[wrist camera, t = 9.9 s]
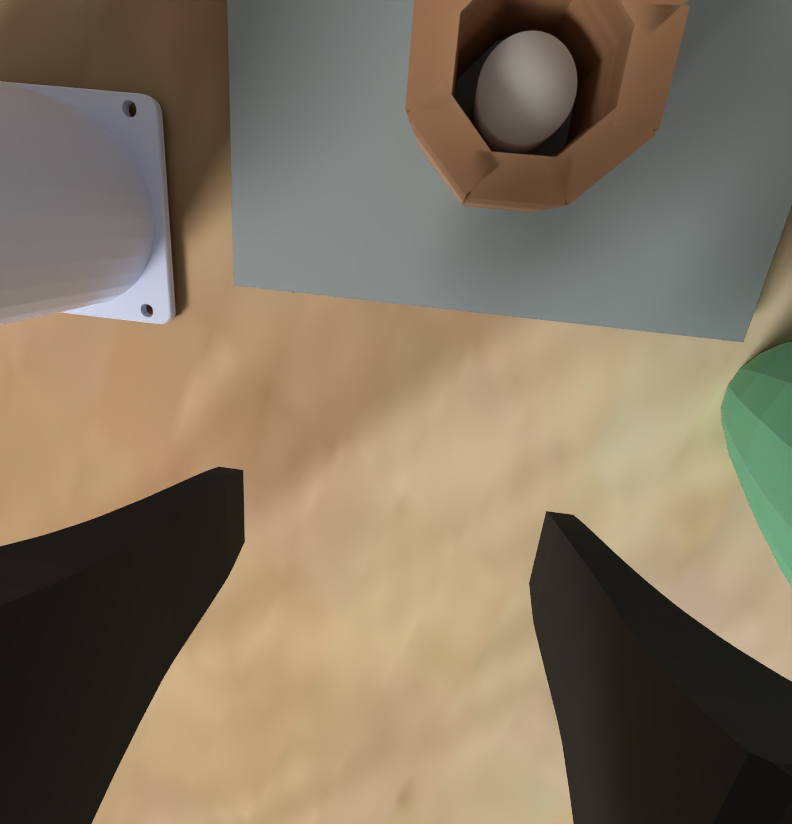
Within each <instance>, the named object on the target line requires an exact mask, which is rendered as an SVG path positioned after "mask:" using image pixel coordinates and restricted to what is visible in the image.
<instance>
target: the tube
mask: <svg viewBox="0 0 792 824" xmlns="http://www.w3.org/2000/svg"><path fill="white" fill-rule="evenodd" d="M687 1H688V0H414V7H413V19H412V31H411V44H410V56H409V68H408V80H407V92H406V105H405V110H406V113H407V117H408V120H409V122H410V125H411V127H412V130H413V132H414V135H415V137H416V140H417V143H418V145H419V148H420V149H421V151H422V152H423V153H424V155H425V156H426V157H427V159H428V160H429V161H430V163H431V164H432V165H433V167H434V168H435V170H436V171H437V172H438V174H439V175H440V176H441V178H442V179H443V180H444V182H445V183H446V184H447V186H448V187H449V188H450V190H451V191H452V193H453V194H454V195H455V197H456V198H457V199H458V201H459V202H460V203H461V205H462V204H463V203H464V202H465V205H464V206H466V207H477V208H488V209H499V210H510V211H521V212H536V211H542V210H547V209H552V208H557V207H563V206H565V205H569V204H570V203H572V202H573V201H574V200H575V199H577V198H578V197H579V196H580V195H582V194H583V193H584V192H585V191H587V190H588V189H589V188H590V187H591V186H593V185H594V184H595V183H596V182H598V181H599V180H600V179H601V178H603V177H604V176H605V175H606V174H608V173H609V172H610V171H611V170H613V169H614V168H615V167H616V166H618V165H619V164H620V163H621V162H623V161H624V160H625V159H626V158H627V157H629V156H630V155H631V154H632V153H634V152H635V151H636V150H637V149H639V148H640V147H641V146H642V145H644V144H645V143H646V142H647V141H649V140H650V139H651V138H652V137H654V136H655V135H656V133H655V131H657V130H659V129H660V125H661V121H662V117H663V113H664V109H665V104H666V100H667V96H668V92H669V88H670V84H671V80H672V76H673V72H674V68H675V64H676V60H677V56H678V52H679V48H680V44H681V39H682V35H683V31H684V27H685V23H686V19H687V15H688V11H689V7H690V6H683V5H684V4H685V3H686V2H687ZM524 31H542V32H545V33H548V34H550V35H552V36H554V37H556V38H557V39H559V40H560V41H561V42H562V43H563V44H564V45H565V46H566V48H567V49H568V50H569V52H570V54H571V56H572V57H573V60H574V63H575V67H576V71H577V91H576V97H575V101H574V106H573V111H572V116H571V122H570V127H569V132H568V137H567V143H566V144H565V145H564V146H563V147H562V148H561V149H559V150H558V151H557V152H556V153H555V154H554V155H552V156H539V155H527V154H515V153H503V152H491V150H490V149H489V147H488V146H487V144H486V143H485V142H484V140H483V139H482V137H481V136H480V134H479V133H478V132H477V130H476V129H475V127H474V126H473V124H472V123H471V122H470V120H469V119H468V117H467V116H466V115H465V113H464V112H463V110H462V109H461V107H460V106H459V105H458V103H457V102H456V100H455V96H456V87H457V79H458V78H459V77H460V76H461V75H462V74H463V73H464V72H465V71H466V70H467V69H468V68H469V67H470V66H471V65H472V64H473V63H474V62H476V61H477V60H478V59H479V58H480V57H481V56H482V55H483V54H484V53H485V52H486V51H487V50H488V49H489V48H490V47H491V46H492V45H493V44H494V43H495V42H496V41H497V40H503V41H504V40H505V39H507V38H508V37H510V36H512V35H514V34H517V33H520V32H524Z"/></svg>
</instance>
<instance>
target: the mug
mask: <svg viewBox="0 0 792 824" xmlns="http://www.w3.org/2000/svg"><path fill="white" fill-rule="evenodd" d="M721 408H722V425H723V429H724V434H725V438H726V443H727V448H728V452H729V456H730V458H731V461H732V463H733V466H734V468H735V471H736V473H737V476H738V478H739V481H740V483H741V486H742V488H743V491H744V493H745V495H746V498H747V500H748V502H749V505H750V507H751V509H752V512H753V514H754V516H755V519H756V521H757V523H758V525H759V527H760V529H761V531H762V533H763V535H764V537H765V539H766V541H767V543H768V545H769V547H770V549H771V551H772V553H773V555H774V557H775V559H776V561H777V563H778V565H779V567H780V569H781V570H782V572H783V574H784V575H785V577H786V578H787V580H788V582H789V583H790V585H791V586H792V342H788V343H783V344H779V345H777V346H775V347H773V348H771V349H768V350H766V351H764V352H762V353H760V354H758V355H757V356H755V357H754V358H753V359H752V360H751V361H749V362H748V363H747V364H746V365H744V366H743V367H742V368H741V369H740V370H739V371H738V373H737V374H736V376H735V377H734V378H733V380H732V381H731V382H730V384H729V385H728V387H727V391H726V394H725V397H724V400H723V404H722V407H721Z"/></svg>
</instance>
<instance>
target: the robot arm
mask: <svg viewBox="0 0 792 824" xmlns="http://www.w3.org/2000/svg"><path fill="white" fill-rule="evenodd" d="M132 103H134V104H135V106H136V109H137V111H136V115H135V116H134V117H131V115H130V113H129V106H130V105H131V104H132ZM147 304H148V305H150V306H151V307H152V309H153V315H150V314H149V313H148V312H147V309H146V307H147ZM58 312H61V313H70V314H78V315H87V316H95V317H104V318H112V319H121V320H129V321H138V322H146V323H155V324H166V323H169V322H171V321H172V320H173V319H174V317H175V313H176V310H175V295H174V280H173V265H172V251H171V236H170V221H169V206H168V191H167V176H166V161H165V146H164V131H163V116H162V110H161V106H160V105H159V103H158V101H156V100H155V99H154V98H153V97H150V96H148V95H145V94H141V93H129V92H117V91H106V90H94V89H83V88H71V87H60V86H48V85H37V84H25V83H14V82H3V81H0V325H3V324H7V323H12V322H16V321H21V320H26V319H30V318H35V317H40V316H44V315H49V314H54V313H58ZM244 542H245V538H244V488H243V470H239V469H231V468H224V467H217V468H214V469H211V470H208V471H205V472H203V473H201V474H198V475H196V476H194V477H191V478H189V479H187V480H185V481H183V482H180V483H178V484H176V485H174V486H171V487H169V488H167V489H165V490H162V491H160V492H158V493H156V494H153V495H151V496H149V497H147V498H144V499H142V500H140V501H137V502H135V503H132V504H130V505H127V506H125V507H122V508H120V509H117V510H115V511H112V512H110V513H107V514H105V515H102V516H100V517H97V518H94V519H92V520H89V521H86V522H83V523H80V524H77V525H74V526H71V527H68V528H65V529H62V530H59V531H56V532H52V533H49V534H46V535H43V536H39V537H35V538H32V539H28V540H24V541H20V542H16V543H12V544H8V545H4V546H0V824H91V823H92V821H93V819H94V817H95V815H96V813H97V811H98V808H99V806H100V804H101V802H102V800H103V798H104V796H105V793H106V791H107V789H108V787H109V785H110V783H111V780H112V778H113V776H114V774H115V772H116V770H117V768H118V766H119V764H120V762H121V760H122V758H123V756H124V754H125V752H126V750H127V748H128V746H129V744H130V742H131V740H132V738H133V736H134V734H135V732H136V729H137V727H138V725H139V723H140V721H141V720H142V718H143V716H144V714H145V712H146V710H147V708H148V706H149V704H150V702H151V700H152V699H153V697H154V695H155V693H156V691H157V689H158V687H159V685H160V683H161V681H162V679H163V678H164V676H165V674H166V673H167V671H168V669H169V668H170V666H171V664H172V663H173V661H174V659H175V658H176V656H177V655H178V653H179V652H180V650H181V648H182V647H183V645H184V644H185V642H186V641H187V639H188V638H189V636H190V635H191V633H192V632H193V630H194V629H195V627H196V626H197V624H198V623H199V621H200V620H201V618H202V617H203V615H204V614H205V612H206V611H207V609H208V607H209V606H210V604H211V603H212V601H213V600H214V598H215V597H216V595H217V594H218V592H219V590H220V589H221V587H222V586H223V584H224V583H225V581H226V579H227V578H228V576H229V574H230V572H231V570H232V568H233V566H234V564H235V562H236V560H237V557H238V555H239V553H240V551H241V548H242V546H243V544H244ZM529 585H530V595H531V605H532V614H533V622H534V627H535V631H536V635H537V640H538V644H539V648H540V652H541V656H542V660H543V664H544V668H545V672H546V676H547V680H548V684H549V688H550V692H551V696H552V700H553V704H554V708H555V712H556V716H557V720H558V725H559V730H560V735H561V739H562V745H563V751H564V758H565V765H566V772H567V778H568V785H569V792H570V799H571V807H572V815H573V822H574V824H792V682H791V681H790V680H788V679H786V678H784V677H783V676H781V675H779V674H778V673H776V672H774V671H773V670H771V669H769V668H768V667H766V666H765V665H763V664H761V663H760V662H758V661H756V660H755V659H753V658H752V657H750V656H748V655H747V654H745V653H743V652H742V651H740V650H739V649H737V648H736V647H734V646H733V645H731V644H730V643H728V642H726V641H725V640H723V639H722V638H720V637H719V636H718V635H716V634H715V633H713V632H712V631H711V630H709V629H708V628H706V627H705V626H703V625H702V624H701V623H699V622H698V621H696V620H695V619H694V618H692V617H691V616H689V615H688V614H687V613H685V612H684V611H683V610H681V609H680V608H679V607H678V606H676V605H675V604H674V603H672V602H671V601H670V600H669V599H667V598H666V597H665V596H664V595H663V594H661V593H660V592H659V591H658V590H656V589H655V588H654V587H653V586H652V585H650V584H649V583H648V582H647V581H646V580H644V579H643V578H642V577H641V576H640V575H639V574H638V573H636V572H635V571H634V570H633V569H632V568H631V567H630V566H629V565H627V564H626V563H625V562H624V561H623V560H622V559H621V558H620V557H619V556H618V555H617V554H615V553H614V552H613V551H612V550H611V549H610V548H609V547H608V546H607V545H606V544H605V543H604V542H603V541H602V540H601V539H599V538H598V537H597V536H596V535H595V534H594V533H593V532H592V531H591V530H590V529H589V528H588V527H587V526H586V525H585V524H583V523H582V522H581V521H580V520H579V519H578V518H576V517H575V516H574V515H570V514H563V513H555V512H548V511H546V515H545V519H544V523H543V527H542V532H541V536H540V540H539V544H538V548H537V553H536V557H535V561H534V565H533V570H532V574H531V578H530V582H529Z"/></svg>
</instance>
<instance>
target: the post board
mask: <svg viewBox="0 0 792 824" xmlns="http://www.w3.org/2000/svg"><path fill="white" fill-rule="evenodd" d="M683 6H690V7H689V11H688V15H687V19H686V23H685V27H684V31H683V35H682V39H681V44H680V48H679V52H678V56H677V60H676V64H675V68H674V72H673V76H672V80H671V84H670V88H669V92H668V96H667V100H666V104H665V109H664V113H663V117H662V121H661V125H660V129H659V130H657V131H655V133H656V135H655V136H654V137H652V138H651V139H650V140H649V141H647V142H646V143H645V144H644V145H642V146H641V147H640V148H639V149H637V150H636V151H635V152H634V153H632V154H631V155H630V156H629V157H627V158H626V159H625V160H624V161H623V162H621V163H620V164H619V165H618V166H616V167H615V168H614V169H613V170H611V171H610V172H609V173H608V174H606V175H605V176H604V177H603V178H601V179H600V180H599V181H598V182H596V183H595V184H594V185H593V186H591V187H590V188H589V189H588V190H587V191H585V192H584V193H583V194H582V195H580V196H579V197H578V198H577V199H575V200H574V201H573V202H572V203H570V204H569V205H565V206H563V207H557V208H552V209H547V210H542V211H536V212H521V211H510V210H499V209H488V208H477V207H466V206H464V205H465V202H464V203H463V204H462V205H461V203H460V202H459V201H458V199H457V198H456V197H455V195H454V194H453V193H452V191H451V190H450V188H449V187H448V186H447V184H446V183H445V182H444V180H443V179H442V178H441V176H440V175H439V174H438V172H437V171H436V170H435V168H434V167H433V165H432V164H431V163H430V161H429V160H428V159H427V157H426V156H425V155H424V153H423V152H422V151H421V149H420V148H419V145H418V143H417V140H416V137H415V135H414V132H413V130H412V127H411V125H410V122H409V120H408V117H407V113H406V110H405V105H406V92H407V80H408V68H409V56H410V44H411V31H412V19H413V7H414V0H227V17H228V59H229V101H230V142H231V184H232V226H233V267H234V285H235V286H244V287H252V288H261V289H270V290H279V291H288V292H297V293H306V294H315V295H324V296H333V297H342V298H351V299H360V300H369V301H378V302H387V303H396V304H405V305H414V306H423V307H432V308H441V309H450V310H459V311H468V312H477V313H486V314H495V315H504V316H513V317H522V318H531V319H540V320H549V321H558V322H567V323H576V324H585V325H594V326H603V327H612V328H621V329H630V330H639V331H648V332H657V333H666V334H675V335H684V336H693V337H702V338H711V339H720V340H729V341H738V342H744V339H745V336H746V333H747V330H748V328H749V325H750V322H751V319H752V316H753V313H754V311H755V308H756V305H757V302H758V299H759V296H760V294H761V291H762V288H763V285H764V282H765V279H766V277H767V274H768V271H769V268H770V265H771V262H772V260H773V257H774V254H775V251H776V248H777V246H778V243H779V240H780V237H781V234H782V231H783V229H784V226H785V223H786V220H787V217H788V214H789V212H790V209H791V206H792V0H688V1H687V2H686V3H685V4H684V5H683ZM576 91H577V71H576V67H575V63H574V60H573V57H572V56H571V54H570V52H569V50H568V49H567V48H566V46H565V45H564V44H563V43H562V42H561V41H560V40H559V39H557V38H556V37H554V36H552V35H550V34H548V33H545V32H542V31H524V32H520V33H517V34H514V35H512V36H510V37H508V38H507V39H505V40H504V41H503V40H497V41H496V42H495V43H494V44H493V45H492V46H491V47H490V48H489V49H488V50H487V51H486V52H485V53H484V54H483V55H482V56H481V57H480V58H479V59H478V60H477V61H476V62H474V63H473V64H472V65H471V66H470V67H469V68H468V69H467V70H466V71H465V72H464V73H463V74H462V75H461V76H460V77H459V78H458V79H457V87H456V96H455V100H456V102H457V103H458V105H459V106H460V107H461V109H462V110H463V112H464V113H465V115H466V116H467V117H468V119H469V120H470V122H471V123H472V124H473V126H474V127H475V129H476V130H477V132H478V133H479V134H480V136H481V137H482V139H483V140H484V142H485V143H486V144H487V146H488V147H489V149H490V150H491V152H503V153H515V154H527V155H539V156H552V155H554V154H555V153H556V152H557V151H558V150H559V149H561V148H562V147H563V146H564V145H565V144H566V143H567V137H568V132H569V127H570V122H571V116H572V111H573V106H574V101H575V97H576Z"/></svg>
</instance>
